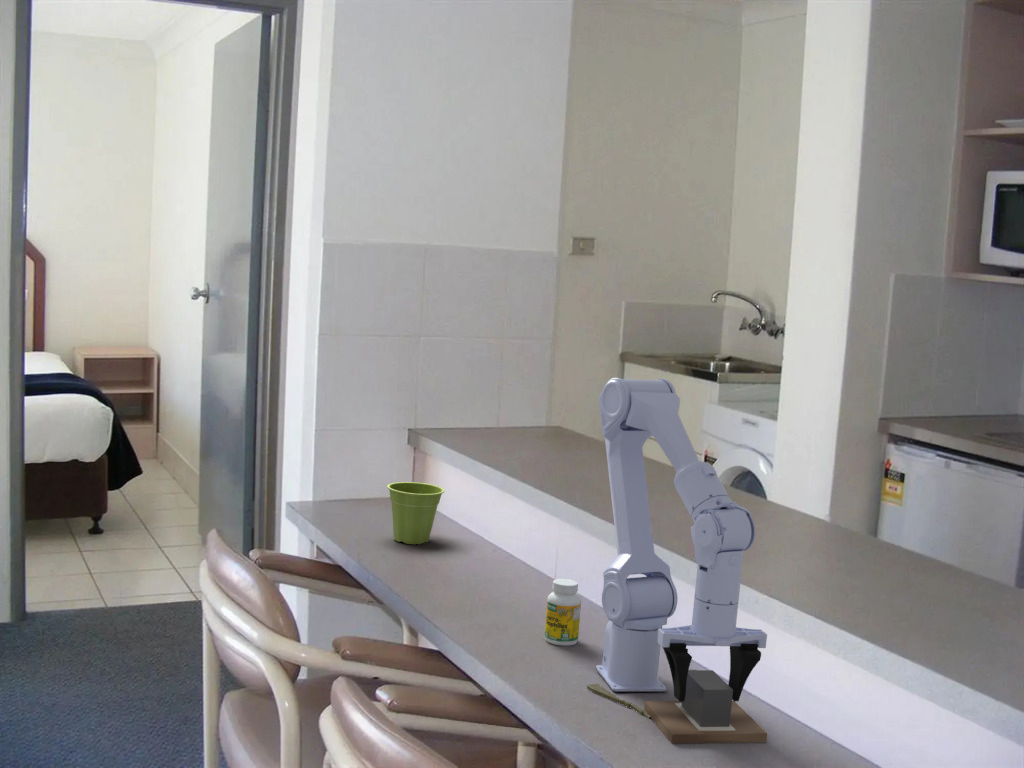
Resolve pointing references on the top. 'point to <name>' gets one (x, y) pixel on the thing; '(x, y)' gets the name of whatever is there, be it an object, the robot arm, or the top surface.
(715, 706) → the block
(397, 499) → the plant pot
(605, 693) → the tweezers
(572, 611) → the supplement bottle
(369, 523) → the top surface
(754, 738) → the pin board
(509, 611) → the top surface
